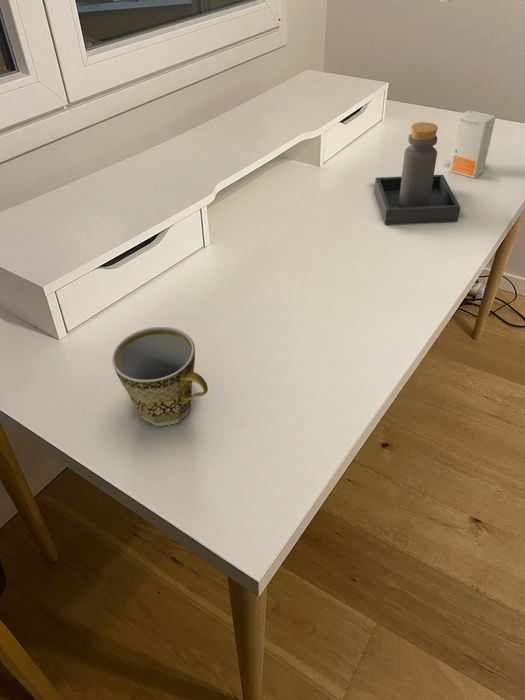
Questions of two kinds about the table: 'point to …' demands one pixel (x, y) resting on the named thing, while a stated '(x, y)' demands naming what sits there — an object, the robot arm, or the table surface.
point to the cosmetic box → (472, 143)
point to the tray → (437, 211)
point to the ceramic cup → (158, 373)
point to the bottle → (419, 166)
